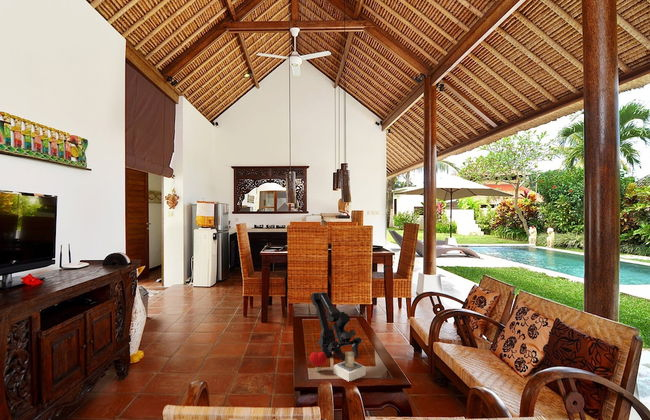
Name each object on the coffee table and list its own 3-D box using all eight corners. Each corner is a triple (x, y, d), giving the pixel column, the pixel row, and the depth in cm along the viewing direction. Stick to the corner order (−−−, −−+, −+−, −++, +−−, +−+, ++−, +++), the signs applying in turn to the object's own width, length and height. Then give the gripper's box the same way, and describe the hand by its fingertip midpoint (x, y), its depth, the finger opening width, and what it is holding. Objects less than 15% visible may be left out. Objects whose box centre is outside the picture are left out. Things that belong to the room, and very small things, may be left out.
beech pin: (343, 372, 178) (343, 351, 179) (352, 371, 180) (352, 350, 180) (346, 376, 174) (346, 355, 174) (355, 375, 175) (355, 354, 175)
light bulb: (326, 368, 184) (326, 349, 184) (327, 374, 177) (327, 354, 177) (309, 368, 183) (309, 350, 184) (309, 374, 176) (309, 355, 177)
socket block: (333, 373, 178) (333, 364, 178) (350, 367, 185) (350, 358, 185) (348, 381, 168) (348, 372, 168) (365, 374, 176) (365, 365, 176)
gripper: (330, 327, 177) (340, 355, 167) (360, 322, 185) (371, 349, 175) (323, 337, 184) (333, 365, 173) (353, 332, 192) (363, 359, 182)
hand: (350, 359), depth 176 cm, fingers open, 8 cm apart
